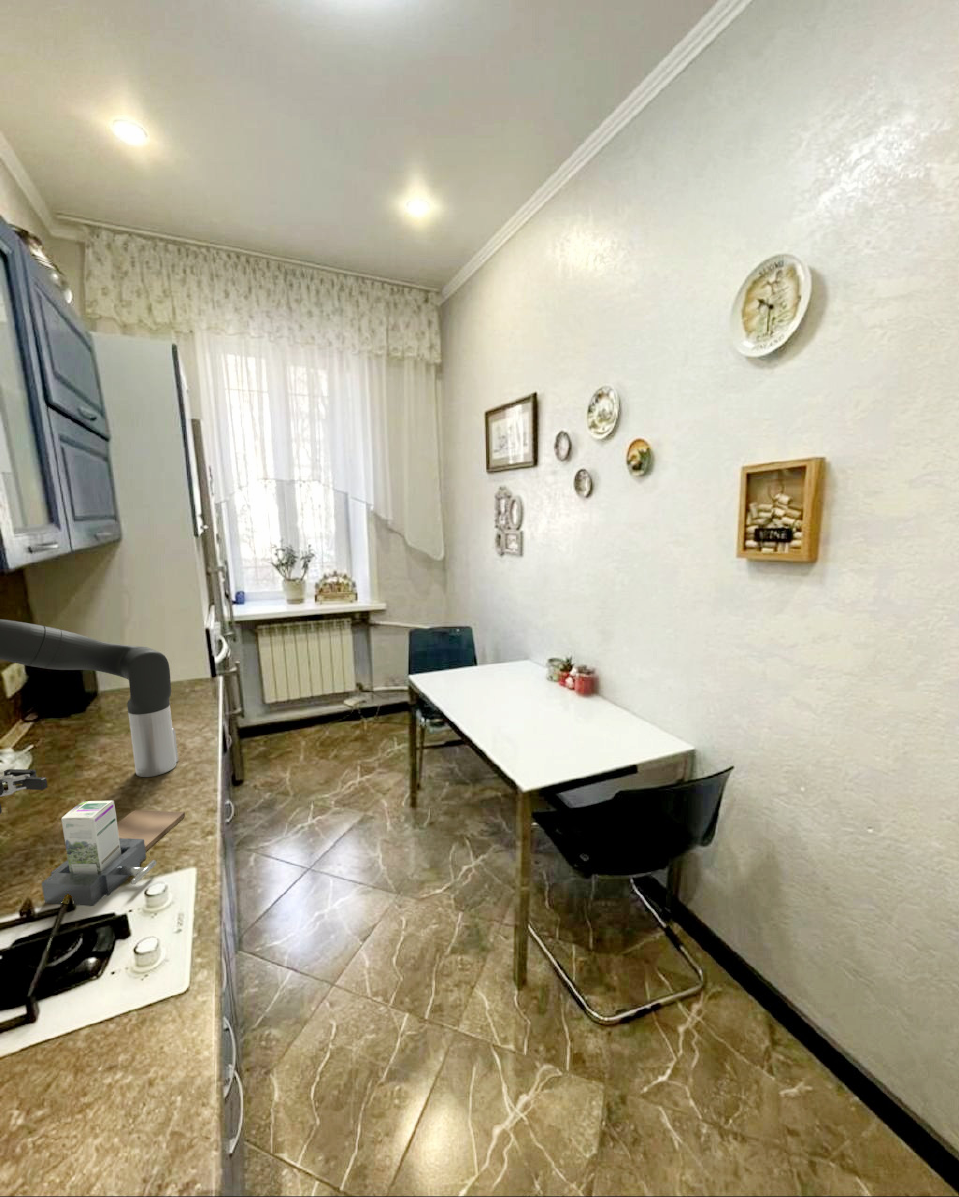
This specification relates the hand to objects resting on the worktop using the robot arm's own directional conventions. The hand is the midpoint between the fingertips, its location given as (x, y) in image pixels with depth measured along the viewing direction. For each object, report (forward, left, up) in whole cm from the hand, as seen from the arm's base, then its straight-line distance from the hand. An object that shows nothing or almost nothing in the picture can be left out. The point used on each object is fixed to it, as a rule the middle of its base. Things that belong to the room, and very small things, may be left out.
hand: (23, 795), depth 91 cm
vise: (0, +15, -16) cm, 22 cm away
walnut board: (-14, +9, -16) cm, 24 cm away
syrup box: (0, +12, -17) cm, 21 cm away
